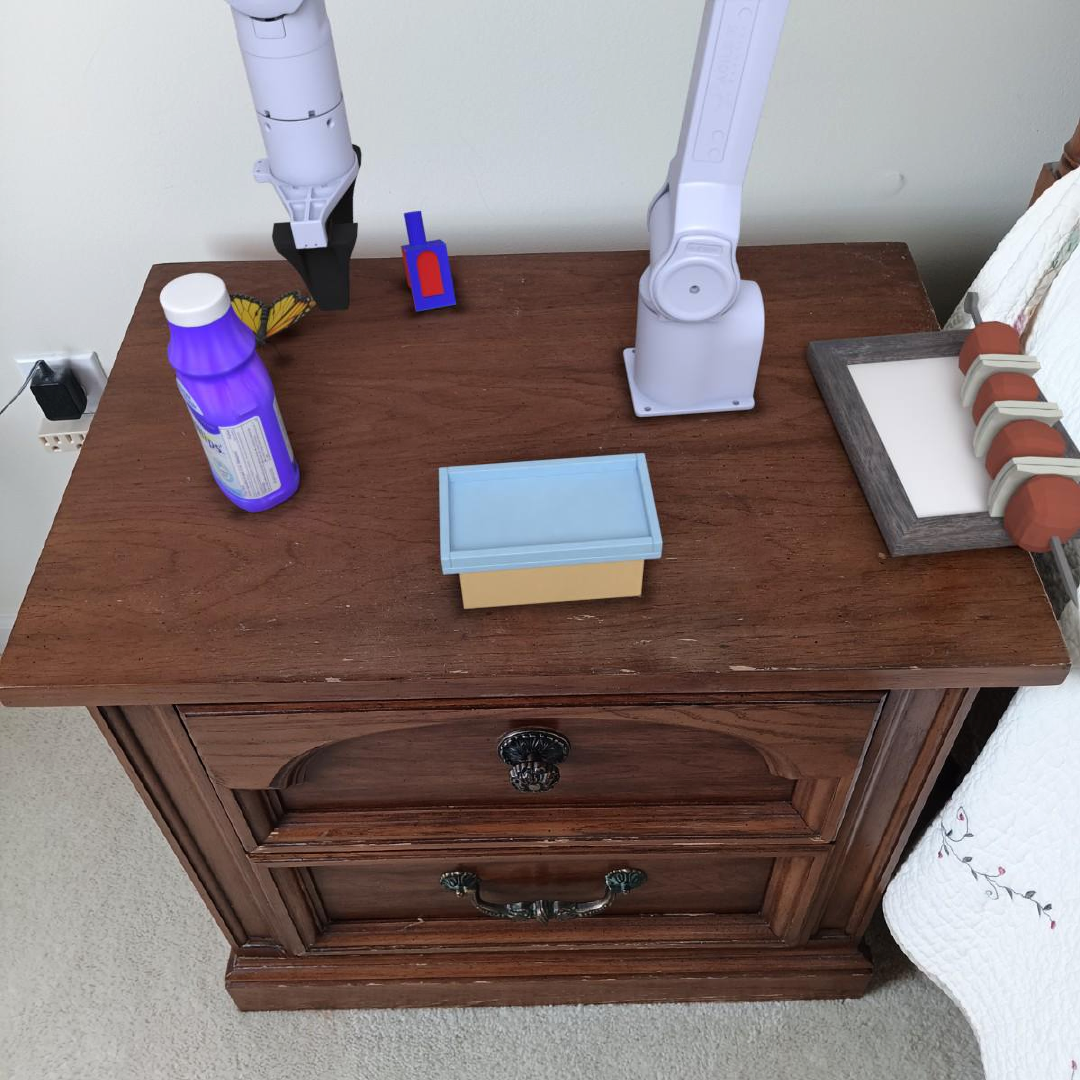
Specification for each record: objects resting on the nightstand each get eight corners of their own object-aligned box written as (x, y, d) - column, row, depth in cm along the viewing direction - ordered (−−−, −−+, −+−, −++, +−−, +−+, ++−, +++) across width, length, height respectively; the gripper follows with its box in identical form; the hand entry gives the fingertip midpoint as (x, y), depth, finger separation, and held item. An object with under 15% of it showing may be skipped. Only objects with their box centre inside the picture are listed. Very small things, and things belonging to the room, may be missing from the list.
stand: (639, 510, 73) (644, 452, 68) (656, 599, 68) (663, 542, 63) (447, 525, 72) (438, 467, 68) (449, 615, 67) (440, 559, 63)
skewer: (986, 321, 82) (1097, 633, 63) (929, 319, 82) (1023, 630, 63) (1011, 269, 78) (1136, 585, 59) (950, 267, 78) (1057, 582, 59)
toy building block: (450, 297, 92) (434, 206, 89) (456, 304, 88) (440, 209, 85) (411, 304, 92) (394, 213, 88) (416, 311, 88) (398, 216, 85)
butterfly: (188, 386, 83) (169, 337, 79) (204, 319, 88) (187, 271, 84) (333, 377, 83) (321, 329, 79) (339, 311, 89) (329, 263, 85)
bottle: (203, 473, 76) (125, 281, 63) (270, 440, 78) (208, 248, 65) (247, 530, 73) (174, 339, 59) (316, 493, 75) (260, 301, 61)
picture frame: (1000, 326, 82) (1123, 521, 69) (991, 345, 84) (1111, 539, 70) (809, 341, 81) (898, 542, 68) (804, 360, 82) (890, 561, 69)
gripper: (247, 52, 69) (290, 225, 80) (223, 162, 60) (275, 341, 71) (350, 46, 70) (379, 219, 80) (341, 154, 60) (375, 334, 71)
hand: (336, 276), depth 75 cm, fingers open, 7 cm apart
